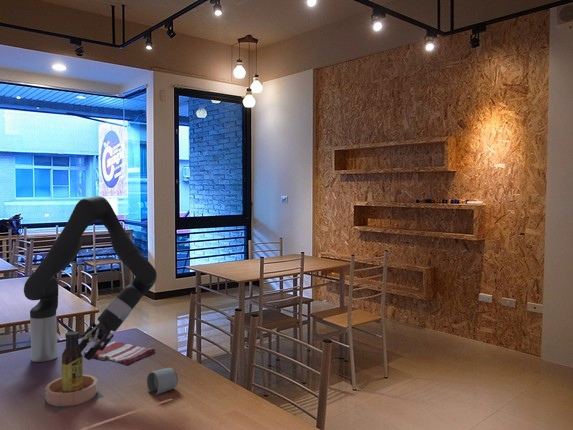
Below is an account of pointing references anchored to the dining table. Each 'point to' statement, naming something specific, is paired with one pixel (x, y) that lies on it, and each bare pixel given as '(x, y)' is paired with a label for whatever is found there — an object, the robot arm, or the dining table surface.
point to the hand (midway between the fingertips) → (81, 355)
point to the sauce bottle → (72, 364)
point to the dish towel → (122, 352)
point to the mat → (71, 406)
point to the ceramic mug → (162, 380)
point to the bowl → (71, 398)
